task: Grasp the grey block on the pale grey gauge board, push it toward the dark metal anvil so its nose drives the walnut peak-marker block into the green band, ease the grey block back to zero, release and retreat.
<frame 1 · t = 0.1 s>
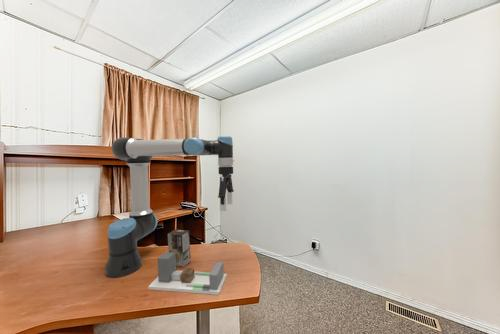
hand: (226, 207, 102), 28 cm above the table, fingers open, 13 cm apart
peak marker: (188, 279, 85), point 1 cm above the table, touching gauge board
gauge board: (189, 282, 85), on the table
grey block: (171, 266, 86), point 7 cm above the table, slide at 0.0 cm
coffee box: (180, 262, 101), on the table
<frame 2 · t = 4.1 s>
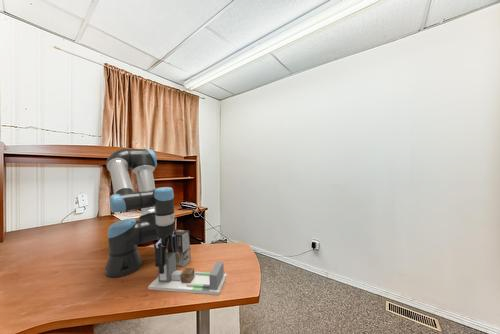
hand: (167, 275, 86), 3 cm above the table, fingers closed on grey block, 6 cm apart
grey block: (171, 266, 86), point 7 cm above the table, slide at 0.0 cm, touching gripper
everything else where it was.
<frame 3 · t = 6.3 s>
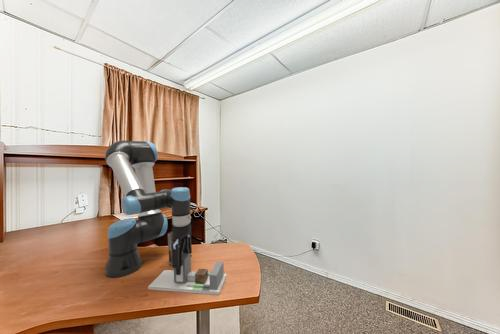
hand: (183, 276, 85), 3 cm above the table, fingers closed on grey block, 6 cm apart
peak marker: (201, 280, 84), point 1 cm above the table, touching gauge board, grey block
grey block: (186, 267, 85), point 7 cm above the table, slide at 7.2 cm, touching gripper, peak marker
everything else where it was.
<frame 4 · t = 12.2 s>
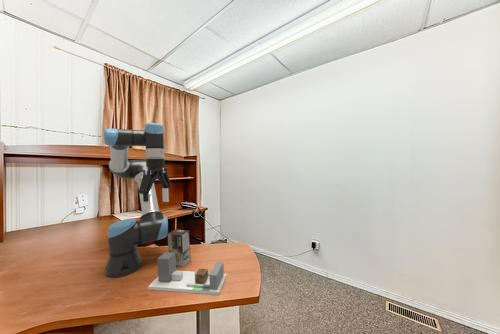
hand: (157, 205, 89), 33 cm above the table, fingers open, 13 cm apart
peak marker: (201, 280, 84), point 1 cm above the table, touching gauge board
grey block: (171, 266, 86), point 6 cm above the table, slide at 0.0 cm
everything else where it was.
at the end: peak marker 0.3 cm from the target spot on the gauge board, point 1.2 cm above the gauge board's base; grey block slide at 0.0 cm; the gripper is holding nothing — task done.
